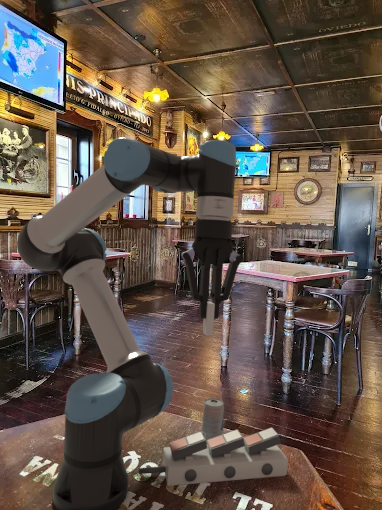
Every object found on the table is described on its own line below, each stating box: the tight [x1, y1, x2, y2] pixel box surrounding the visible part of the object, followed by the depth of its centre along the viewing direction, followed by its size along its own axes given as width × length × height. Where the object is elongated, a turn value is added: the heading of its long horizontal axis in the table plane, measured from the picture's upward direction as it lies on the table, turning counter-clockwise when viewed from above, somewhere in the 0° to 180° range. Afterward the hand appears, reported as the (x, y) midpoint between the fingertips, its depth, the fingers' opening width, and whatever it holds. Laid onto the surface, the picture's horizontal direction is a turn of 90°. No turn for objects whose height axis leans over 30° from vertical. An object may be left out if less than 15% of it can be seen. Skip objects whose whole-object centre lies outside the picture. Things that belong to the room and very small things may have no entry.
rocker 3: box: [243, 426, 282, 455], centre depth 89 cm, size 8×4×2 cm, turn 103°
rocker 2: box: [206, 428, 245, 457], centre depth 87 cm, size 8×4×2 cm, turn 103°
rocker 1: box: [168, 430, 207, 460], centre depth 85 cm, size 8×4×2 cm, turn 103°
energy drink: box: [201, 397, 225, 444], centre depth 96 cm, size 5×5×12 cm
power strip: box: [138, 445, 288, 487], centre depth 87 cm, size 34×8×5 cm, turn 102°
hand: (207, 333), depth 77 cm, fingers closed
